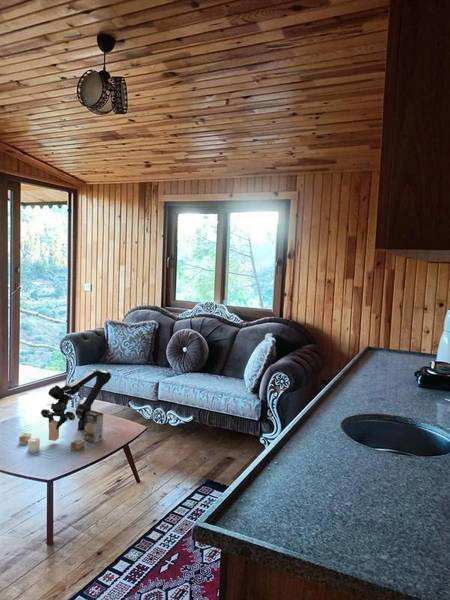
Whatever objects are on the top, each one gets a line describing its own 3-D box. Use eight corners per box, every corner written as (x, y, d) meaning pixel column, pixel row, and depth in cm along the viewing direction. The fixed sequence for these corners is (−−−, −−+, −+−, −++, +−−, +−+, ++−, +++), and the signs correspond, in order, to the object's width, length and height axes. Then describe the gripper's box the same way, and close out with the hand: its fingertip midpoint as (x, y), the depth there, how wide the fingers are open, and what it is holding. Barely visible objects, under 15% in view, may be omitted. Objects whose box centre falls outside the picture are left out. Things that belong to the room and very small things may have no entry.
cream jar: (41, 448, 248) (41, 438, 247) (36, 453, 242) (36, 442, 241) (31, 447, 248) (31, 437, 248) (25, 452, 242) (25, 441, 242)
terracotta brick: (58, 438, 257) (59, 419, 256) (55, 440, 253) (56, 422, 252) (52, 437, 258) (52, 419, 257) (48, 440, 254) (49, 421, 253)
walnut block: (84, 448, 251) (84, 441, 251) (77, 452, 247) (78, 444, 247) (77, 446, 254) (77, 439, 253) (70, 450, 249) (71, 442, 249)
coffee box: (83, 439, 264) (84, 412, 262) (90, 435, 270) (91, 409, 268) (95, 442, 260) (96, 416, 259) (102, 439, 266) (103, 413, 264)
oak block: (30, 440, 258) (30, 433, 257) (28, 444, 253) (28, 436, 252) (21, 440, 257) (21, 433, 256) (18, 444, 252) (19, 436, 252)
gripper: (42, 395, 258) (32, 421, 248) (73, 398, 256) (64, 424, 247) (48, 404, 267) (38, 429, 257) (79, 407, 265) (70, 432, 255)
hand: (52, 428), depth 253 cm, fingers closed on terracotta brick, 4 cm apart
